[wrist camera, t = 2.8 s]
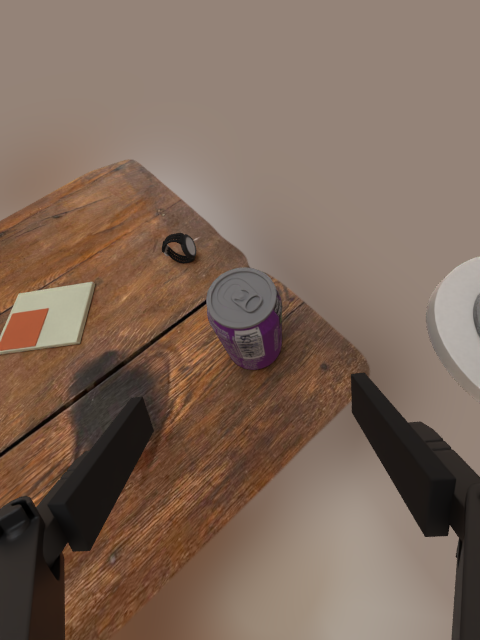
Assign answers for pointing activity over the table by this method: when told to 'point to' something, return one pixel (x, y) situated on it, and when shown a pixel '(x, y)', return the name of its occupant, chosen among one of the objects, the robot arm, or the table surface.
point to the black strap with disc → (186, 245)
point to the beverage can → (246, 316)
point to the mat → (47, 318)
